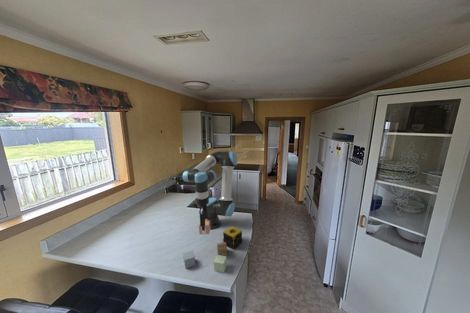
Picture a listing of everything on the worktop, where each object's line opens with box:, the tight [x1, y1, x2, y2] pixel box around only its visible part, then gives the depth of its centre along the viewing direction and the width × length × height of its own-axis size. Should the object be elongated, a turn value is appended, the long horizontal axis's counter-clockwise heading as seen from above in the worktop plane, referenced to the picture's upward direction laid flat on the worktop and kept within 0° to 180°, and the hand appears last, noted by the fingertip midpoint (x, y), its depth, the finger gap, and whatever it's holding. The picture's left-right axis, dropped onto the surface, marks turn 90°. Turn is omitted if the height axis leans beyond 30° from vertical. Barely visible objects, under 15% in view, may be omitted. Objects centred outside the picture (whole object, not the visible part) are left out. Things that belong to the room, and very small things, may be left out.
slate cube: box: [182, 250, 196, 270], centre depth 112 cm, size 6×6×6 cm
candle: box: [222, 225, 243, 250], centre depth 129 cm, size 10×10×10 cm
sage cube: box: [213, 254, 228, 273], centre depth 107 cm, size 6×6×6 cm
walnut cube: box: [216, 242, 228, 257], centre depth 119 cm, size 6×6×6 cm
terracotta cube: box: [198, 220, 211, 235], centre depth 114 cm, size 6×6×6 cm
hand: (205, 230), depth 115 cm, fingers closed on terracotta cube, 6 cm apart
